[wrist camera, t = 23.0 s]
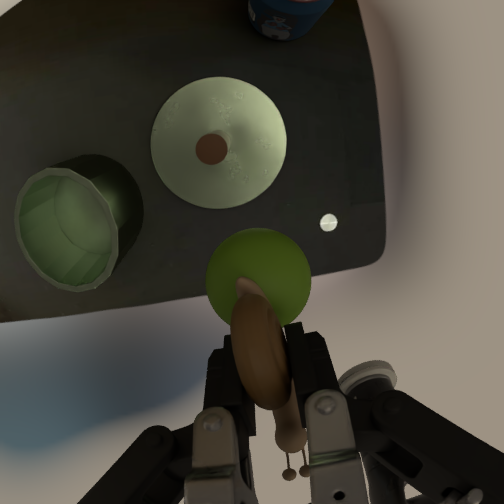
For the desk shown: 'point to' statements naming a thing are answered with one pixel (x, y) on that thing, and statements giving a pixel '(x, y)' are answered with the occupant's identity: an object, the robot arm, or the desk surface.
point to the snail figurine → (263, 321)
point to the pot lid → (218, 142)
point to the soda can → (285, 17)
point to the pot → (78, 220)
